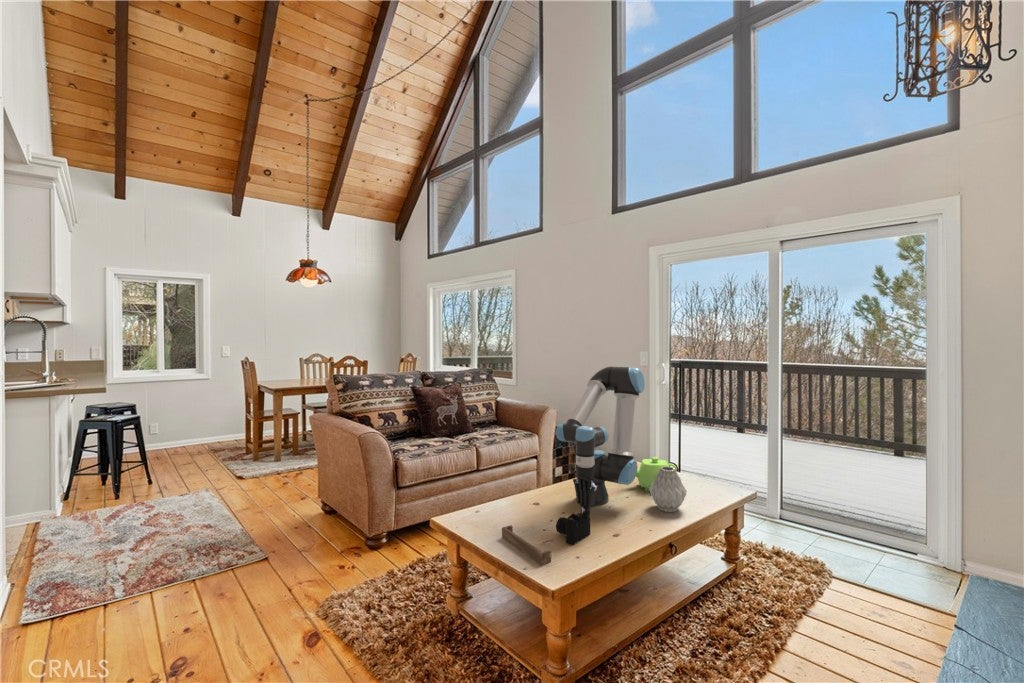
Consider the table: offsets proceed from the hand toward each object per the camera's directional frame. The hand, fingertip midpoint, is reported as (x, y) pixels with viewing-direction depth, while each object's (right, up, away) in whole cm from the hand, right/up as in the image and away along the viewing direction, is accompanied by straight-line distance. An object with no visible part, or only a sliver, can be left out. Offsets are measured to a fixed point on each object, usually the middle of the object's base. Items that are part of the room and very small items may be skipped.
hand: (585, 522), depth 191 cm
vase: (+41, -2, +21) cm, 46 cm away
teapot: (+42, -2, +52) cm, 67 cm away
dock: (-25, -4, -16) cm, 30 cm away
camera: (-6, -3, -5) cm, 9 cm away
